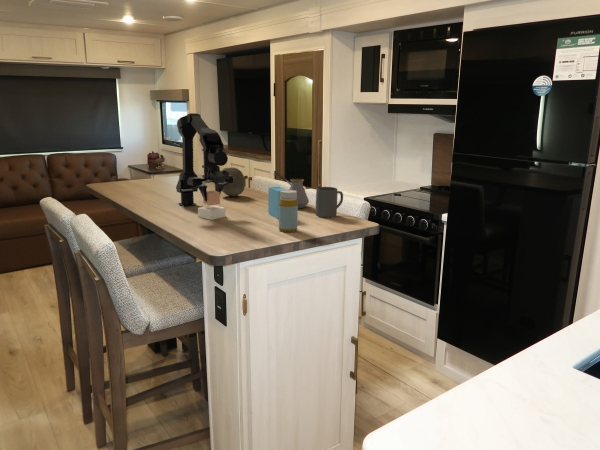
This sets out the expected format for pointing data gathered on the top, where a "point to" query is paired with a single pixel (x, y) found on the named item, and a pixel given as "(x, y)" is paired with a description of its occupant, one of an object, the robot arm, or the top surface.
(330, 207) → the mug
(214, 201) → the terracotta cube
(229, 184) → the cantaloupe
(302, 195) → the coffee pot
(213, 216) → the base block
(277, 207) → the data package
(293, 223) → the bottle
